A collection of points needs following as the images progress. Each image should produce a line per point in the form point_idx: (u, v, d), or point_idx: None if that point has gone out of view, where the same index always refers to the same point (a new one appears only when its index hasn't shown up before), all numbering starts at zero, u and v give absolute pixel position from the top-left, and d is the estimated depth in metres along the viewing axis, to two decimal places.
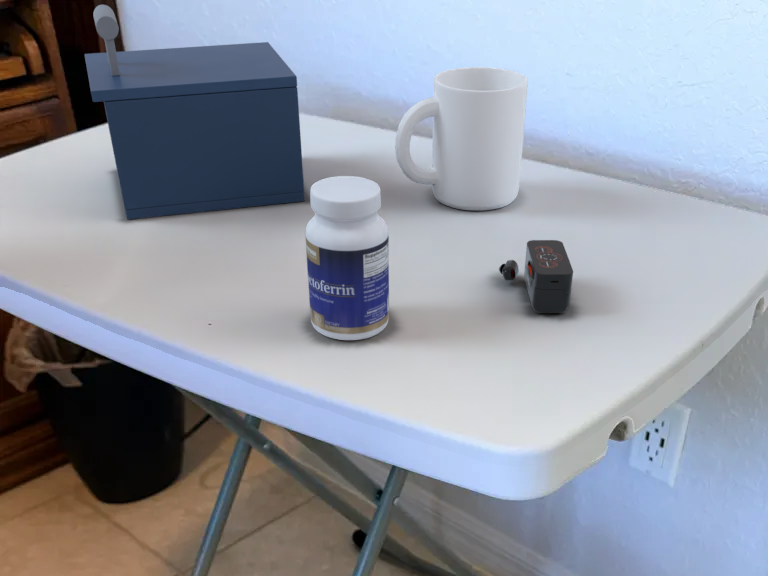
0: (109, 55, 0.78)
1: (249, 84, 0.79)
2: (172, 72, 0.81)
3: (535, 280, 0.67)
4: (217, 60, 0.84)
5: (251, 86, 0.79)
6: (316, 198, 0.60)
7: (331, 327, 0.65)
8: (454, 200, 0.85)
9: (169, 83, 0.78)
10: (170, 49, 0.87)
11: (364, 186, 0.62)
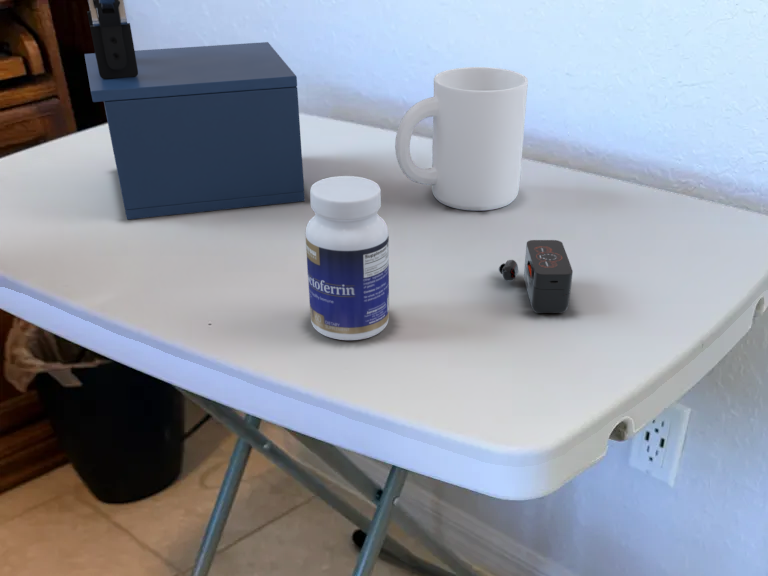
0: None
1: (249, 84, 0.79)
2: (172, 72, 0.81)
3: (534, 280, 0.67)
4: (217, 60, 0.84)
5: (251, 86, 0.79)
6: (316, 198, 0.60)
7: (331, 327, 0.65)
8: (454, 200, 0.85)
9: (169, 83, 0.78)
10: (170, 49, 0.87)
11: (364, 186, 0.62)
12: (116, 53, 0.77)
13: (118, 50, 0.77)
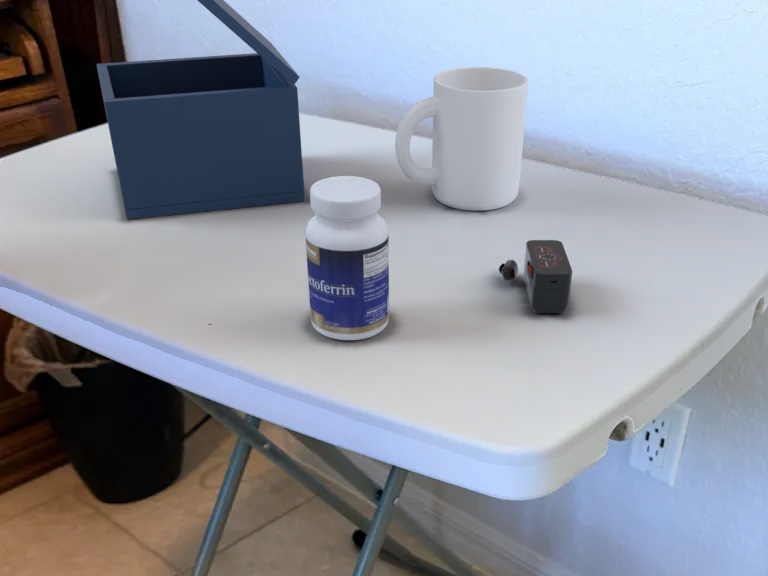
0: None
1: (259, 47, 0.78)
2: None
3: (534, 280, 0.67)
4: (232, 12, 0.82)
5: (259, 50, 0.78)
6: (316, 198, 0.60)
7: (331, 327, 0.65)
8: (454, 200, 0.85)
9: None
10: None
11: (364, 186, 0.62)
12: None
13: None
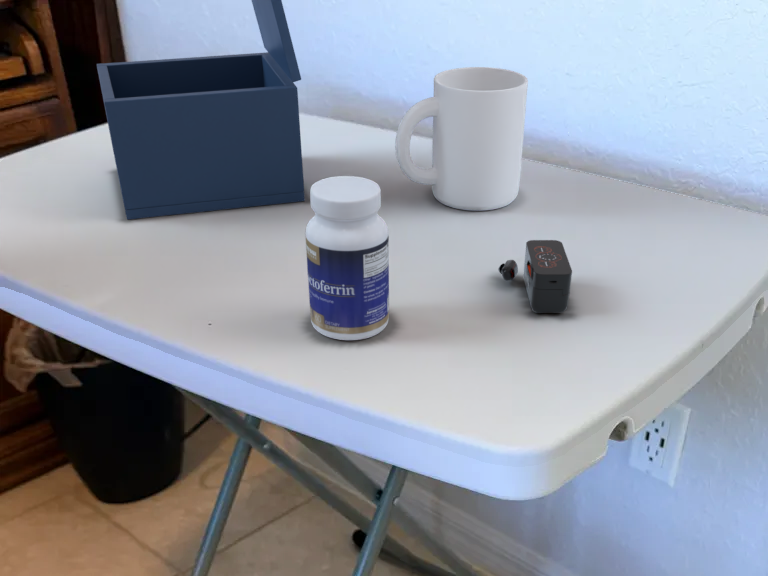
0: None
1: (284, 29, 0.77)
2: None
3: (534, 280, 0.68)
4: None
5: (282, 31, 0.77)
6: (316, 198, 0.60)
7: (331, 327, 0.65)
8: (454, 200, 0.85)
9: None
10: None
11: (364, 186, 0.62)
12: None
13: None
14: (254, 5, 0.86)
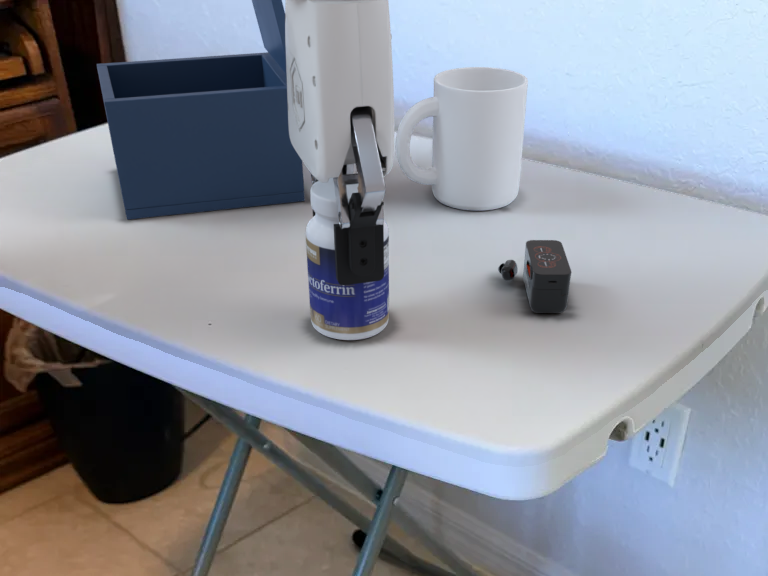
0: None
1: (284, 29, 0.77)
2: None
3: (533, 280, 0.68)
4: None
5: (282, 31, 0.77)
6: (316, 198, 0.60)
7: (331, 327, 0.65)
8: (454, 200, 0.85)
9: None
10: None
11: None
12: (364, 257, 0.60)
13: (367, 254, 0.60)
14: (254, 5, 0.86)
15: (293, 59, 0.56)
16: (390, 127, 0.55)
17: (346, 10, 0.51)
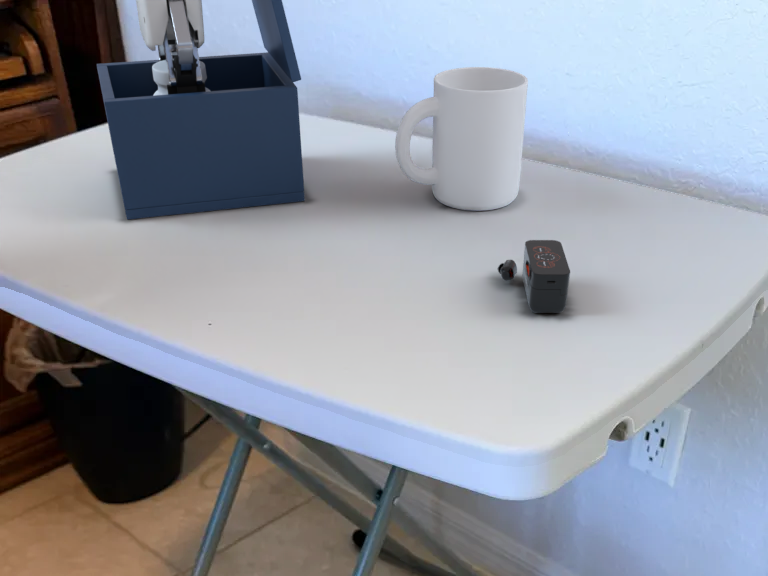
0: None
1: (284, 29, 0.77)
2: None
3: (532, 280, 0.68)
4: None
5: (282, 31, 0.77)
6: (155, 71, 0.81)
7: None
8: (454, 200, 0.85)
9: None
10: None
11: None
12: None
13: None
14: (254, 5, 0.86)
15: None
16: (198, 8, 0.76)
17: None
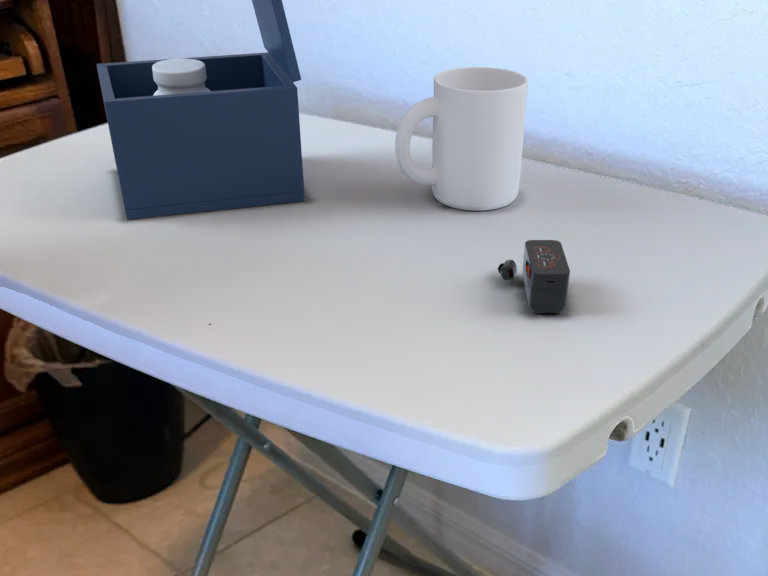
0: None
1: (284, 29, 0.77)
2: None
3: (532, 280, 0.68)
4: None
5: (282, 31, 0.77)
6: (155, 71, 0.81)
7: None
8: (454, 200, 0.85)
9: None
10: None
11: (193, 64, 0.83)
12: None
13: None
14: (254, 5, 0.86)
15: None
16: None
17: None
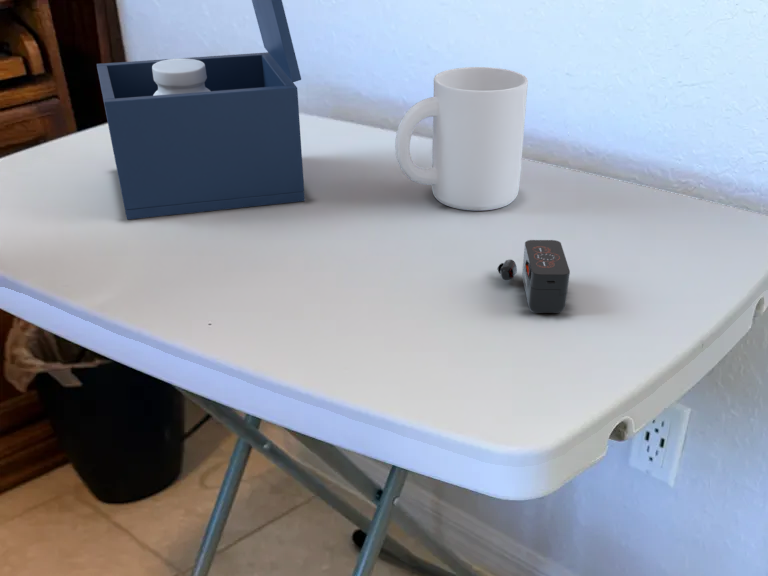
0: None
1: (284, 29, 0.77)
2: None
3: (531, 280, 0.68)
4: None
5: (282, 31, 0.77)
6: (155, 71, 0.81)
7: None
8: (454, 200, 0.85)
9: None
10: None
11: (193, 64, 0.83)
12: None
13: None
14: (254, 5, 0.86)
15: None
16: None
17: None
